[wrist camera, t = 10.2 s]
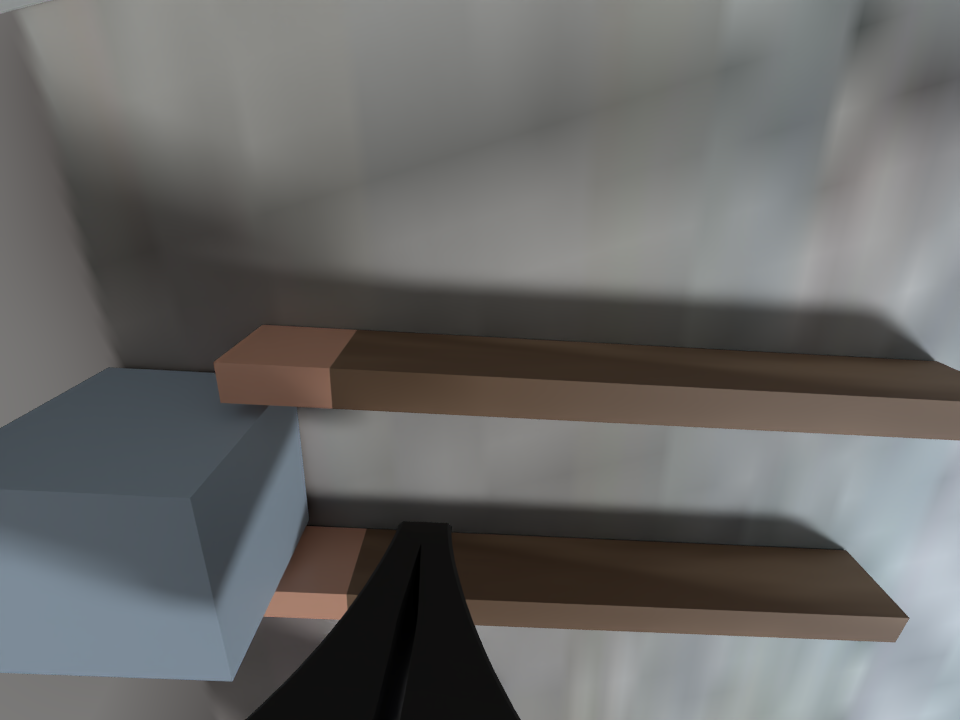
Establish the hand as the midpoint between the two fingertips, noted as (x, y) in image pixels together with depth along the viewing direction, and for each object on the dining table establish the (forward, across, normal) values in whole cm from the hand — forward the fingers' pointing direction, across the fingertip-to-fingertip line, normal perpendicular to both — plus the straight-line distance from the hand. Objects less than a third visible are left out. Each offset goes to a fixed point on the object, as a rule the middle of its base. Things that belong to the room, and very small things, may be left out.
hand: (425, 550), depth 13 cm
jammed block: (+4, +8, 0) cm, 9 cm away
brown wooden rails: (+4, -5, 0) cm, 7 cm away
